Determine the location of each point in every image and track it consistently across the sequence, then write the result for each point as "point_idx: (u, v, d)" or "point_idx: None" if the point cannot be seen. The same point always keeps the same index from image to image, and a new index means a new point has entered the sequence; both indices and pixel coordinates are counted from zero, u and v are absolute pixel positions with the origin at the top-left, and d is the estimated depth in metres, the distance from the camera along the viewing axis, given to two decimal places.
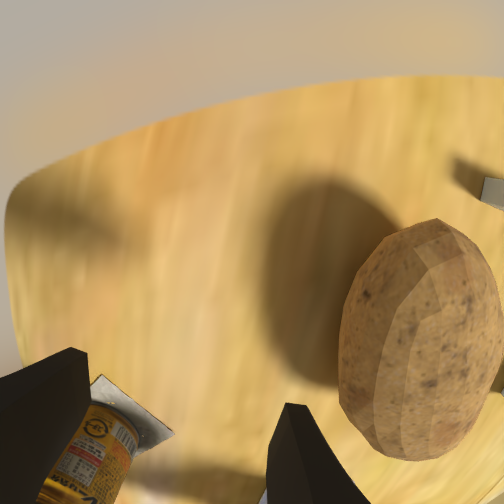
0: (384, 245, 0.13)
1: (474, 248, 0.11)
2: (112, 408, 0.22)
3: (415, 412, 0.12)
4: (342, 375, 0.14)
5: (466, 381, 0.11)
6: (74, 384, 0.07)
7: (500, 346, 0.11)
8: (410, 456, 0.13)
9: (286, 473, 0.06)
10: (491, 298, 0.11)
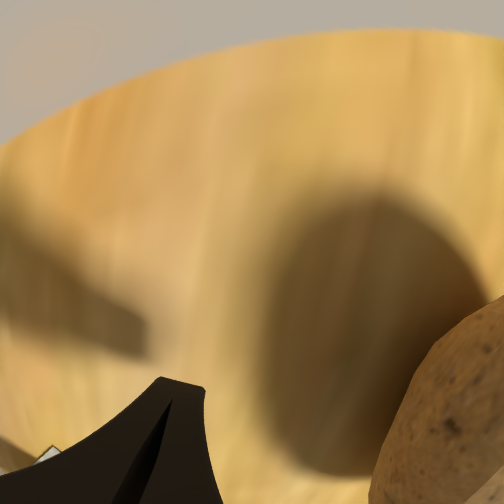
0: (491, 333, 0.05)
1: None
2: None
3: None
4: None
5: None
6: None
7: None
8: None
9: None
10: None
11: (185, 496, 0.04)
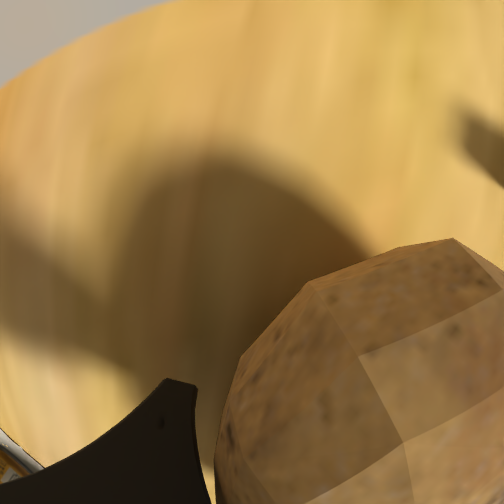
0: (290, 313, 0.05)
1: None
2: (7, 452, 0.13)
3: None
4: None
5: None
6: None
7: None
8: None
9: None
10: None
11: (172, 493, 0.04)
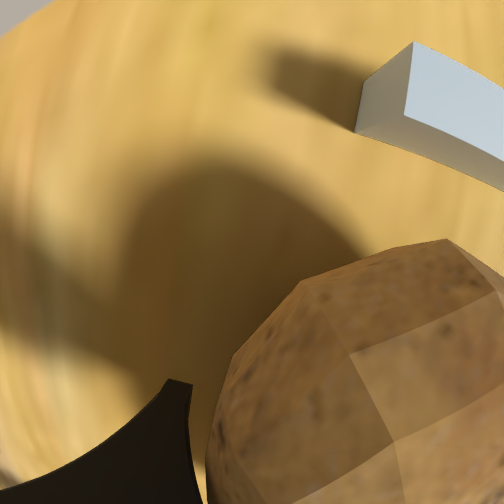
0: (282, 312, 0.05)
1: None
2: None
3: None
4: None
5: None
6: None
7: None
8: None
9: None
10: None
11: (163, 491, 0.04)
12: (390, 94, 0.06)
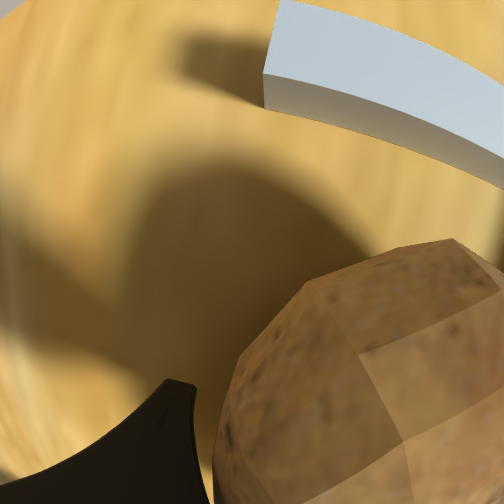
0: (289, 313, 0.05)
1: None
2: None
3: None
4: None
5: None
6: None
7: None
8: None
9: None
10: None
11: (170, 492, 0.04)
12: None
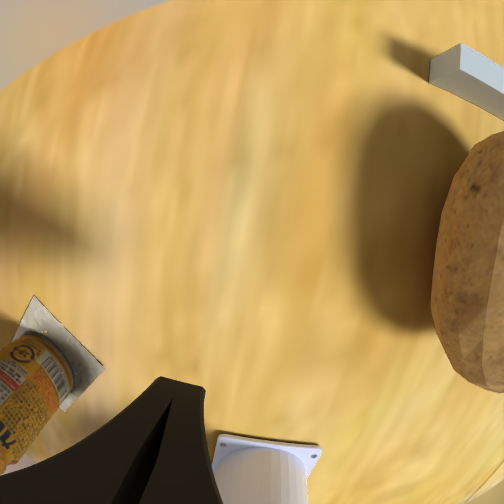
0: (480, 146, 0.11)
1: None
2: (45, 338, 0.20)
3: None
4: (448, 286, 0.12)
5: None
6: None
7: None
8: None
9: None
10: None
11: (185, 496, 0.04)
12: (451, 63, 0.12)
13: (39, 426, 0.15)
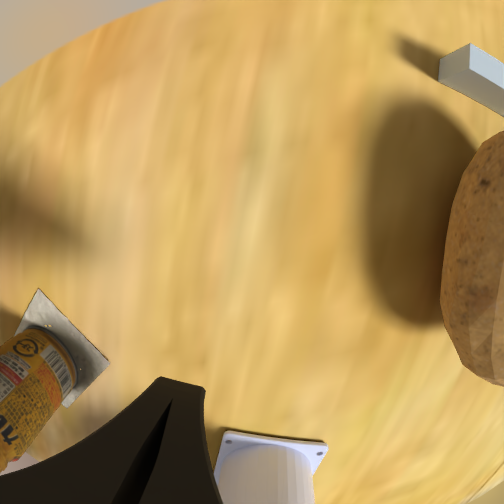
0: (489, 143, 0.11)
1: None
2: (49, 332, 0.20)
3: None
4: (458, 279, 0.12)
5: None
6: None
7: None
8: None
9: None
10: None
11: (185, 496, 0.04)
12: (460, 62, 0.12)
13: (42, 422, 0.15)
